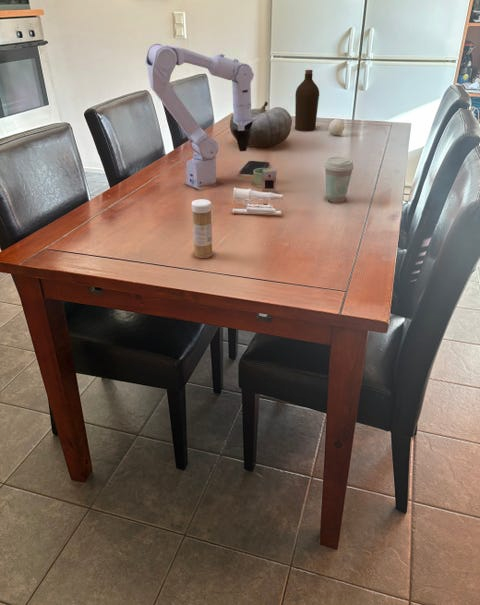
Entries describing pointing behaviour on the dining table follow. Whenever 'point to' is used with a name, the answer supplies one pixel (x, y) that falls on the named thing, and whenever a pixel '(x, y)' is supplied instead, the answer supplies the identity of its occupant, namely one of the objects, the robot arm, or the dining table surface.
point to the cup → (258, 176)
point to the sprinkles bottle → (202, 228)
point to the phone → (253, 167)
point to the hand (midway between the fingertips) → (243, 147)
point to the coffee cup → (337, 178)
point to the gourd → (267, 126)
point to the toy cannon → (252, 196)
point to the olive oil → (306, 104)
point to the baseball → (336, 127)
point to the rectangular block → (269, 180)
